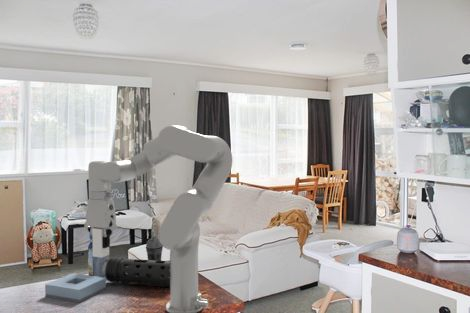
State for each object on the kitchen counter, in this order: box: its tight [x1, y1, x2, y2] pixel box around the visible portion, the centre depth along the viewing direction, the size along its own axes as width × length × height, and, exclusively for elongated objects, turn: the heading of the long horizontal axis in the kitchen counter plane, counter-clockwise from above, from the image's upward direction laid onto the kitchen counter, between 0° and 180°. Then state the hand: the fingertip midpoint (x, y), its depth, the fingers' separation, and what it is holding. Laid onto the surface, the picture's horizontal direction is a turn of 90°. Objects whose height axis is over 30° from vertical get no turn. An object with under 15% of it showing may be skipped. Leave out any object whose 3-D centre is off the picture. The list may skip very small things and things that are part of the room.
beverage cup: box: [145, 226, 164, 261], centre depth 177 cm, size 7×7×20 cm
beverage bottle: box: [87, 232, 110, 277], centre depth 170 cm, size 8×8×20 cm
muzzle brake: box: [102, 257, 170, 288], centre depth 163 cm, size 10×28×10 cm, turn 78°
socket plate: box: [44, 272, 107, 304], centre depth 155 cm, size 16×14×4 cm
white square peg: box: [92, 228, 110, 257], centre depth 147 cm, size 4×4×11 cm
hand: (100, 246), depth 147 cm, fingers closed on white square peg, 4 cm apart
